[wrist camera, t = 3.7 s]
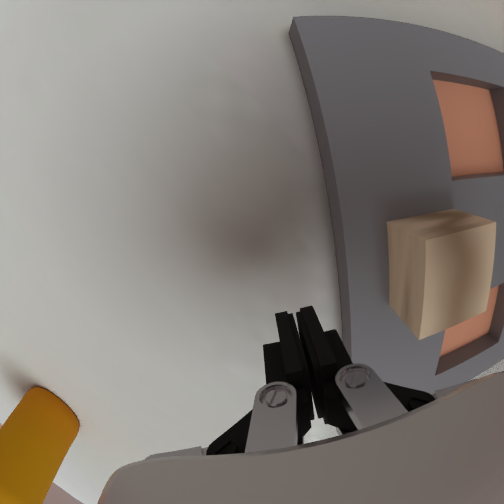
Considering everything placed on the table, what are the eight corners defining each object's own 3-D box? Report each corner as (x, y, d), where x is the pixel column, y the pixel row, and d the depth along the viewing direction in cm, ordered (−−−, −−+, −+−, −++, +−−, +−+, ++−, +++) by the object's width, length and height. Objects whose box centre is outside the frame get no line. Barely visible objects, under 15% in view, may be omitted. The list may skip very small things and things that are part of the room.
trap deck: (524, 72, 12) (537, 70, 10) (524, 327, 22) (534, 335, 19) (288, 33, 14) (293, 16, 12) (343, 411, 24) (349, 428, 21)
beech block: (453, 208, 15) (496, 222, 11) (451, 285, 17) (486, 310, 12) (386, 221, 15) (425, 240, 11) (389, 305, 17) (418, 340, 13)
